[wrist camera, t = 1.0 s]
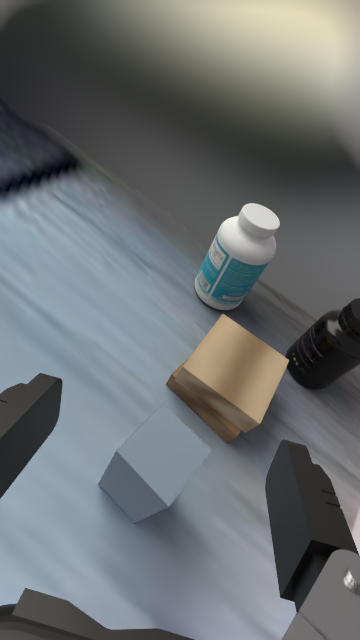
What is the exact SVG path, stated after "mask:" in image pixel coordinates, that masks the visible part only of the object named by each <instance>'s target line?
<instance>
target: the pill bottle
mask: <svg viewBox="0 0 360 640" xmlns="http://www.w3.org/2000/svg"><path fill="white" fill-rule="evenodd" d="M279 225H280V223H279V219H278V218H277V216H276V215H275V214H274V213H273V212H272V211H271V210H269V209H268V208H266V207H264V206H261V205H258V204H246V205H245V206H244V207H243V208H242V210H241V212H240V214H239V216H236V217H231V218H229V219H227V220H226V221H224V222H223V224H222V225H221V227H220V229H219V230H218V232H217V235H216V237H215V239H214V241H213V243H212V245H211V247H210V249H209V251H208V253H207V255H206V258H205V260H204V262H203V264H202V266H201V268H200V270H199V272H198V275H197V277H196V279H195V290H196V292H197V294H198V296H199V297H200V298H201V300H202V301H203V302H205V303H206V304H207V305H209V306H211V307H213V308H215V309H219V310H231V309H234V308H236V307H237V306H239V305H240V303H241V302H242V301H243V299H244V298H245V297H246V295H247V294H248V292H249V291H250V289H251V288H252V286H253V285H254V283H255V282H256V281H257V279H258V278H259V276H260V274H261V273H262V272H263V270H264V269H265V267H266V266H267V264H268V263H269V262H270V260H271V259H272V257H273V256H274V254H275V251H276V241H275V239H274V236H273V235H274V234H275V232H276V230H277V229H278V227H279Z"/></svg>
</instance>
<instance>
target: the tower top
mask: <svg viewBox="0 0 360 640" xmlns="http://www.w3.org/2000/svg"><path fill="white" fill-rule="evenodd" d="M288 362H289V360H288V359H287V358H286V357H284V356H283V355H281V354H280V353H278V352H277V351H276V350H274V349H273V348H271V347H270V346H268V345H267V344H266V343H264V342H263V341H261V340H260V339H258V338H257V337H256V336H254V335H253V334H251V333H250V332H248V331H247V330H246V329H244V328H243V327H241V326H240V325H238V324H237V323H236V322H234V321H233V320H231V319H230V318H228V317H227V316H226V315H224V314H222V315H221V317H220V318H219V319H218V321H217V322H216V323H215V325H214V326H213V327H212V329H211V330H210V331H209V333H208V334H207V335H206V337H205V338H204V339H203V341H202V342H201V343H200V345H199V346H198V347H197V349H196V350H195V351H194V353H193V354H192V355H191V357H190V358H189V359H188V361H187V362H186V363H185V365H184V366H183V367H182V369H181V370H180V372H179V373H178V375H177V376H176V378H175V379H174V380H175V381H176V382H178V383H179V384H180V385H182V386H183V387H184V388H186V389H187V390H188V391H190V392H191V393H193V394H194V395H195V396H197V397H198V398H199V399H201V400H202V401H203V402H205V403H206V404H207V405H209V406H210V407H211V408H213V409H214V410H215V411H217V412H218V413H219V414H221V415H222V416H223V417H225V418H226V419H227V420H229V421H230V422H231V423H233V424H234V425H235V426H237V427H238V428H239V429H241V430H242V431H243V432H245V433H247V432H249V431H250V430H252V429H253V428H255V427H256V426H258V425H259V424H260V423H261V421H262V419H263V417H264V415H265V412H266V410H267V408H268V406H269V404H270V402H271V399H272V397H273V395H274V393H275V391H276V388H277V386H278V384H279V382H280V380H281V378H282V375H283V373H284V371H285V369H286V367H287V364H288Z"/></svg>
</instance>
